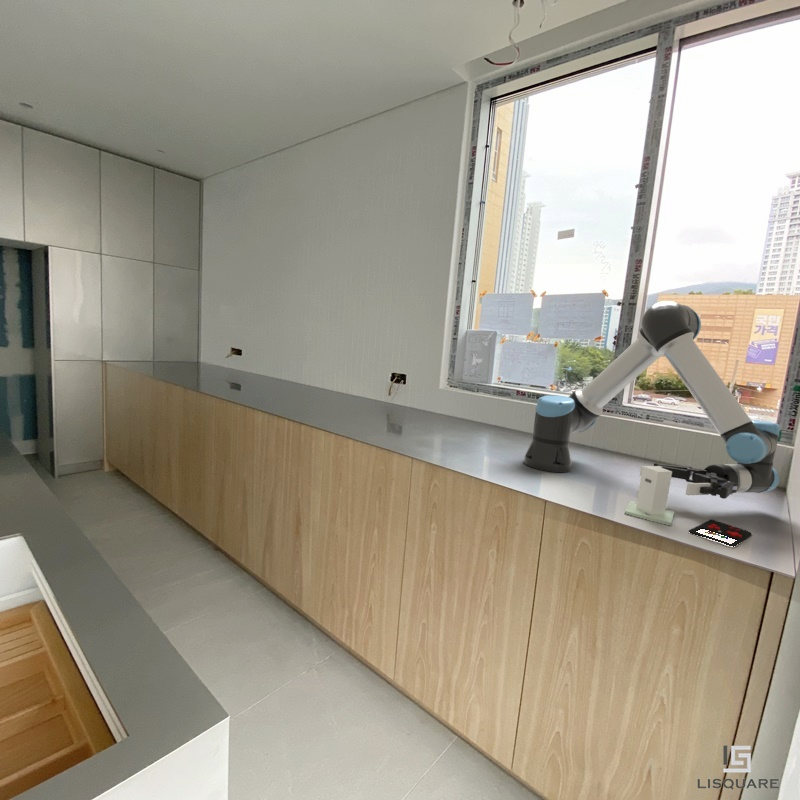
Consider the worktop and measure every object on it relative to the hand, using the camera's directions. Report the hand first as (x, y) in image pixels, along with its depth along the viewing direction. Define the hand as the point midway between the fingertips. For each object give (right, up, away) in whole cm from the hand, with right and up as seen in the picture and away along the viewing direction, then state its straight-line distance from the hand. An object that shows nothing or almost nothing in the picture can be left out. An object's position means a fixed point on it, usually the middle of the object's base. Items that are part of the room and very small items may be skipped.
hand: (663, 479), depth 112 cm
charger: (-3, -8, +1) cm, 8 cm away
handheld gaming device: (+9, -12, -7) cm, 16 cm away
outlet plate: (-3, -9, +1) cm, 9 cm away
